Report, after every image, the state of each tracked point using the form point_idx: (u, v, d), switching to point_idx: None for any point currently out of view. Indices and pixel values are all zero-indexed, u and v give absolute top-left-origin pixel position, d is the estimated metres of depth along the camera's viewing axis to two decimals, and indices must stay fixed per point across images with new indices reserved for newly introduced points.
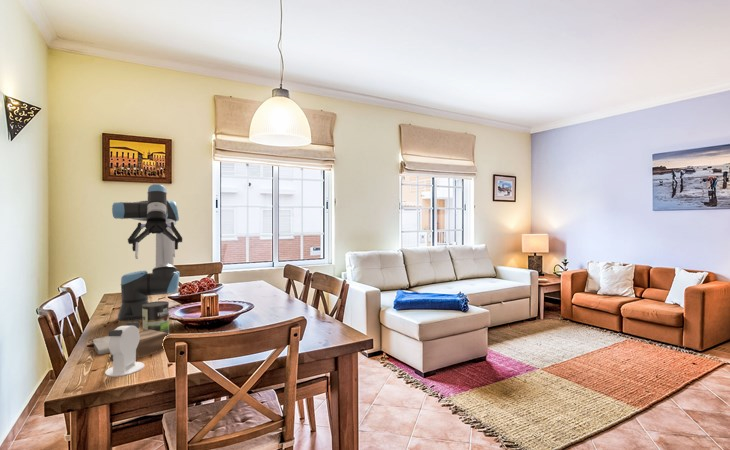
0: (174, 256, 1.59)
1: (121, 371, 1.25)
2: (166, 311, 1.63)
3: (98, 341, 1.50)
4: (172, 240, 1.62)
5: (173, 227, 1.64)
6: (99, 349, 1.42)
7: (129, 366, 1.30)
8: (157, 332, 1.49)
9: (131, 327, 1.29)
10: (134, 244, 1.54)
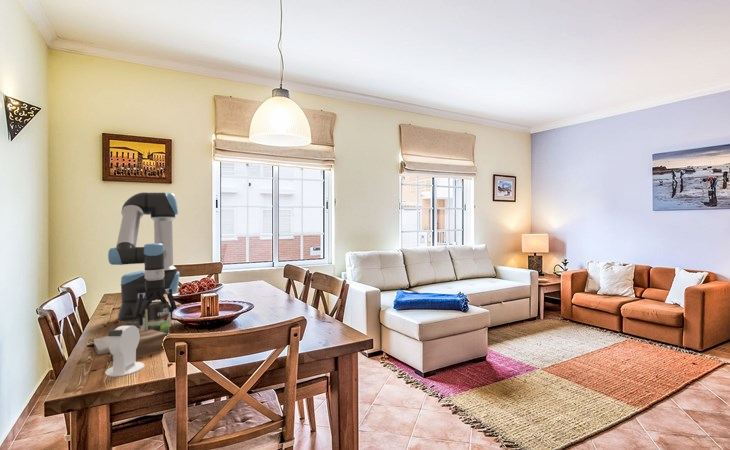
0: None
1: (121, 371, 1.25)
2: (166, 311, 1.63)
3: (98, 341, 1.50)
4: None
5: (171, 295, 1.68)
6: (99, 349, 1.42)
7: (129, 366, 1.30)
8: (157, 332, 1.49)
9: (131, 327, 1.29)
10: (141, 319, 1.58)
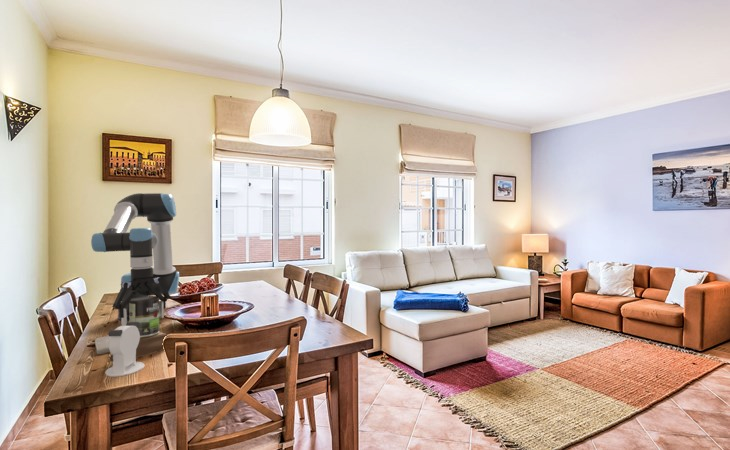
0: None
1: (121, 371, 1.25)
2: (156, 306, 1.47)
3: (99, 340, 1.51)
4: None
5: (161, 284, 1.50)
6: (98, 349, 1.42)
7: (129, 366, 1.30)
8: None
9: (131, 327, 1.29)
10: (121, 311, 1.39)
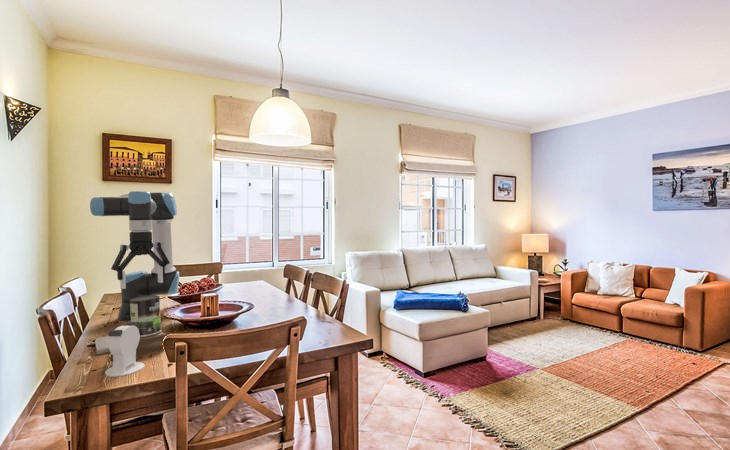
0: None
1: (121, 371, 1.25)
2: (158, 305, 1.48)
3: (99, 340, 1.51)
4: (157, 262, 1.51)
5: (160, 249, 1.50)
6: (98, 349, 1.42)
7: (129, 366, 1.30)
8: None
9: (131, 327, 1.29)
10: (120, 273, 1.39)
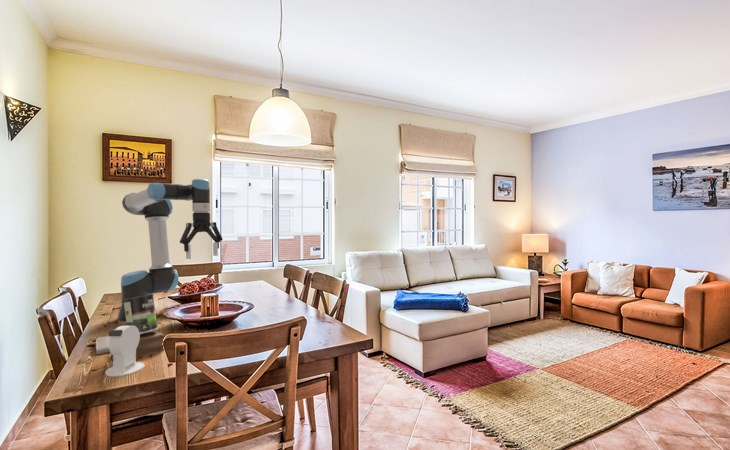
0: (214, 255, 1.83)
1: (121, 371, 1.25)
2: (151, 302, 1.47)
3: (100, 340, 1.51)
4: (213, 239, 1.82)
5: (216, 228, 1.81)
6: (97, 349, 1.43)
7: (129, 366, 1.30)
8: (155, 333, 1.48)
9: (131, 327, 1.29)
10: (187, 246, 1.70)
